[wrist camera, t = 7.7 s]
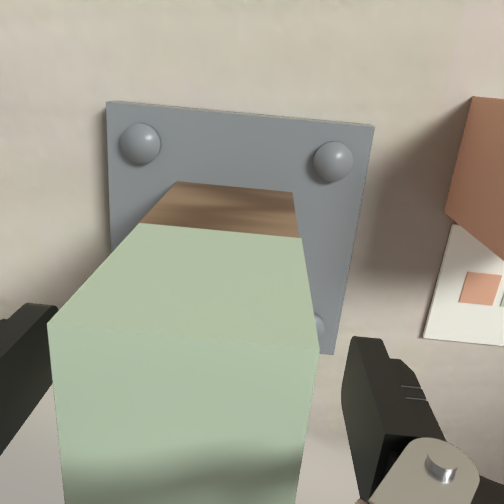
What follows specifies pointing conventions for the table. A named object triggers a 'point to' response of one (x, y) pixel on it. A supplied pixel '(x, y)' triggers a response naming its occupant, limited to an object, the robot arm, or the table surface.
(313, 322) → the brick sage
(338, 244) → the plate
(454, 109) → the table surface
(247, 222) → the brick walnut
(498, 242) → the brick terracotta
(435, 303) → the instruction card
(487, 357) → the table surface
